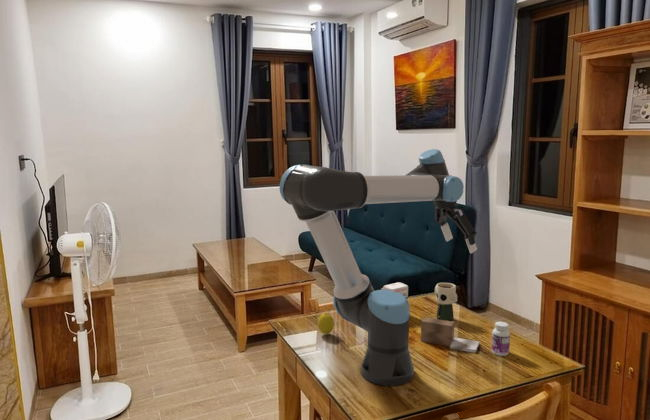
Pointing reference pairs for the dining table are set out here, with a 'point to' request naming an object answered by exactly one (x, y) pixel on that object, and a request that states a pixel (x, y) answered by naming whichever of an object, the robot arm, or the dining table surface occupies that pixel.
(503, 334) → the pill bottle
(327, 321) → the lemon
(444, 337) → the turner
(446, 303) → the character mug
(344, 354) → the dining table surface
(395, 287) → the ink box
